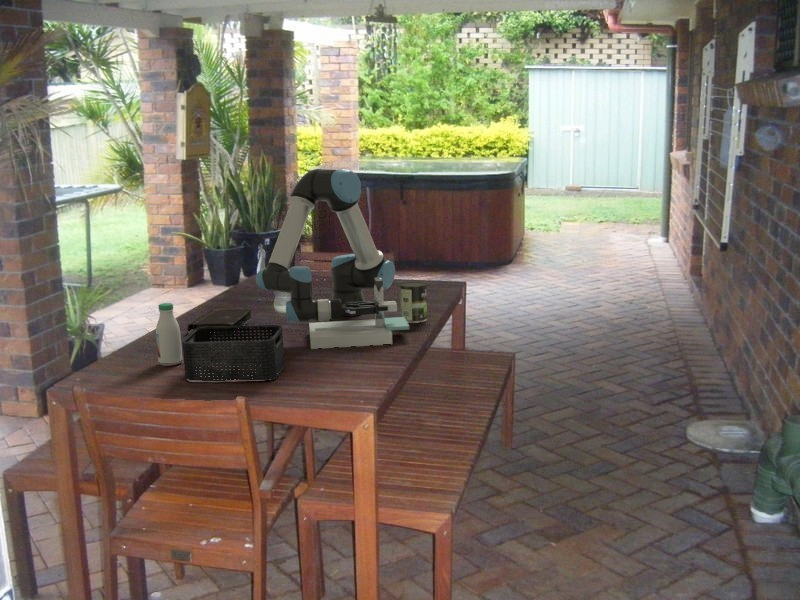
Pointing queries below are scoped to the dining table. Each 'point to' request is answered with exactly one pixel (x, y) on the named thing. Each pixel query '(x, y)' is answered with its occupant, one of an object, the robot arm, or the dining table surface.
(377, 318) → the t key
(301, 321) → the robot arm
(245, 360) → the storage bin
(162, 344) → the milk bottle
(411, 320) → the coffee can
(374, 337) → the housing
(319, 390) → the dining table surface
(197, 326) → the diary
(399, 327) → the cover
